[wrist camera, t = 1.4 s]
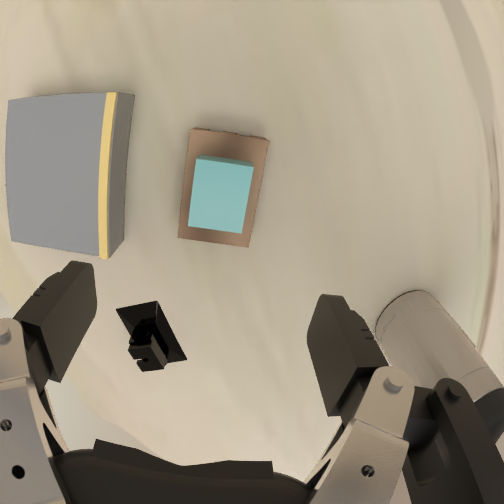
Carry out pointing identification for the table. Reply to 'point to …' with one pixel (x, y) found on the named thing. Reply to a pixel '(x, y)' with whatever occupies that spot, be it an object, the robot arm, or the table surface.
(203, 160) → the teal rectangular block
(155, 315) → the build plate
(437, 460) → the robot arm
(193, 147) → the pallet
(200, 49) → the table surface
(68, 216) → the dock
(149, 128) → the table surface
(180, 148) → the table surface
